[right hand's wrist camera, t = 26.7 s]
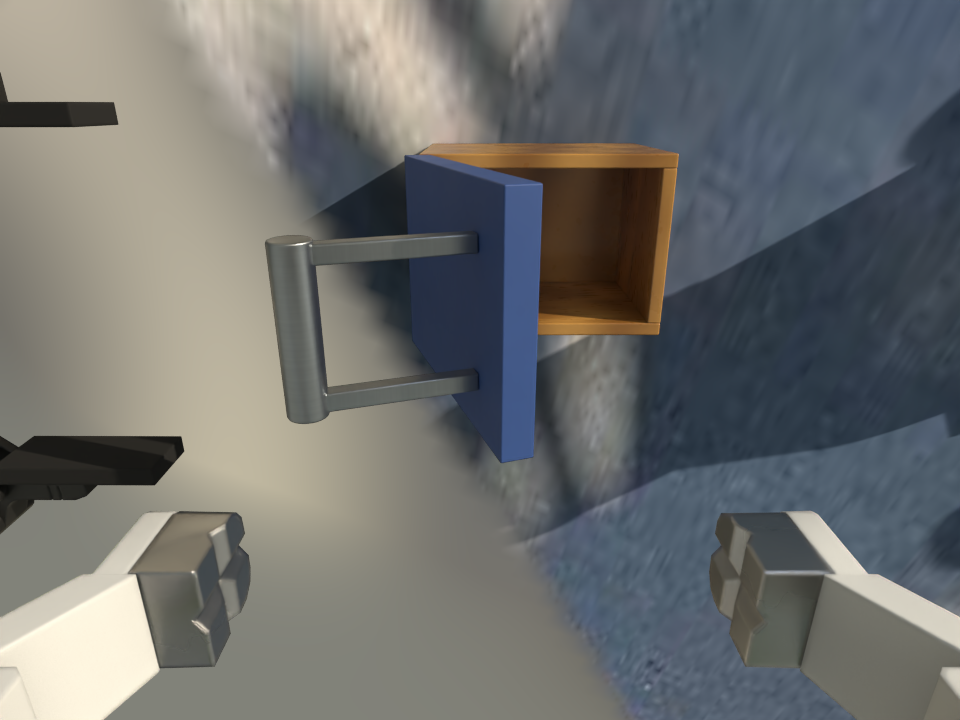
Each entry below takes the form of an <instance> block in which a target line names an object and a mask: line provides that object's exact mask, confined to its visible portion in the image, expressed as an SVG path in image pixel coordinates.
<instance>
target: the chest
mask: <svg viewBox="0 0 960 720" xmlns="http://www.w3.org/2000/svg"><path fill="white" fill-rule="evenodd" d="M419 155H432V156H436V157H440V158H444V159H448V160H452V161H456V162H460V163H464V164H468V165H472V166H476V167H480V168H484V169H488V170H492V171H496V172H500V173H504V174H508V175H512V176H516V177H520V178H524V179H528V180H532V181H536V182H540V183H542V184H543V192H542V221H541V250H540V279H539V307H538V335H658V334H659V328H660V320H661V311H662V302H663V293H664V284H665V274H666V265H667V256H668V247H669V238H670V229H671V220H672V211H673V202H674V193H675V184H676V175H677V169H676V168H677V165H678V156H679V155H678V154H677V153H673V152H668V151H664V150H660V149H655V148H651V147H646V146H642V145H638V144H432V145H431V146H429V147H428V148H427V149H425V150H424V151H423V152H421V153H420V154H419Z"/></svg>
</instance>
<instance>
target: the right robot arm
mask: <svg viewBox="0 0 960 720" xmlns="http://www.w3.org/2000/svg"><path fill="white" fill-rule="evenodd" d="M244 534H245V532H244V527H243V522H242V517H241V516H240V515H239V514H237V513H234V512H189V511H179V512H176V511H150V512H147V513H144V514H142V515H141V516H140V518H139V519H138V520H137V521H136V522H135V524H134V525H133V526H132V527H131V528H130V529H129V531H128V532H127V533H126V534H125V535H124V537H123V538H122V539H121V540H120V541H119V543H118V544H117V545H116V546H115V547H114V548H113V550H112V551H111V552H110V553H109V554H108V556H107V557H106V558H105V559H104V560H103V562H102V563H101V564H100V565H99V566H98V568H97V569H96V570H95V571H94V572H93V573H92V574H82V575H80V576H78V577H76V578H74V579H72V580H71V581H68V582H67V583H65V584H63V585H61V586H59V587H57V588H55V589H53V590H51V591H49V592H47V593H45V594H44V595H42V596H40V597H38V598H36V599H34V600H32V601H30V602H28V603H26V604H24V605H23V606H20V607H19V608H17V609H15V610H13V611H11V612H9V613H7V614H5V615H3V616H1V617H0V720H104V719H105V718H106V717H107V716H108V715H109V714H111V713H112V712H113V711H114V710H115V709H116V708H118V707H119V706H120V705H121V704H122V703H123V702H125V701H126V700H127V699H128V698H129V697H130V696H131V695H133V694H134V693H135V692H136V691H137V690H138V689H140V688H141V687H142V686H143V685H144V684H145V683H147V682H148V681H149V680H150V679H151V678H152V677H154V676H155V675H156V674H157V673H158V672H159V671H160V669H159V668H184V667H214V666H215V665H216V663H217V661H218V659H219V656H220V654H221V652H222V650H223V648H224V646H225V644H226V642H227V640H228V638H229V636H230V627H229V622H228V621H229V620H231V619H232V618H233V617H235V616H236V615H238V614H239V613H240V612H241V610H242V608H243V606H244V604H245V601H246V599H247V595H248V590H249V585H250V562H249V555H248V554H247V553H246V552H245V551H244V550H243V549H242V548H241V547H240V546H239V543H240V542H241V540H242V538H243V536H244ZM715 534H716V536H717V538H718V540H719V542H720V543H721V546H720V547H719V548H718V549H717V550H716V551H715V552H714V553H713V554H712V555H711V563H710V571H709V574H710V586H711V591H712V595H713V598H714V601H715V604H716V606H717V608H718V610H719V612H720V613H721V614H722V615H724V616H725V617H727V618H728V619H729V620H731V621H732V622H731V627H730V633H729V634H730V636H731V638H732V640H733V642H734V644H735V646H736V648H737V650H738V652H739V654H740V656H741V658H742V660H743V663H744V665H745V667H775V668H801V669H800V671H801V672H802V673H803V674H804V675H806V676H807V677H808V678H809V679H810V680H811V681H813V682H814V683H815V684H816V685H817V686H818V687H819V688H821V689H822V690H823V691H824V692H825V693H826V694H828V695H829V696H830V697H831V698H832V699H833V700H835V701H836V702H837V703H838V704H839V705H840V706H842V707H843V708H844V709H845V710H846V711H847V712H849V713H850V714H851V715H852V716H853V717H854V718H855V719H857V720H960V617H958V616H957V615H955V614H953V613H951V612H949V611H947V610H945V609H943V608H941V607H939V606H937V605H936V604H934V603H932V602H930V601H928V600H926V599H924V598H922V597H920V596H918V595H916V594H914V593H913V592H911V591H909V590H907V589H905V588H903V587H901V586H899V585H897V584H895V583H893V582H891V581H890V580H888V579H886V578H884V577H882V576H880V575H878V574H868V573H867V572H866V571H865V570H864V569H863V568H862V566H861V565H860V564H859V563H858V562H857V560H856V559H855V558H854V557H853V556H852V554H851V553H850V552H849V551H848V550H847V549H846V547H845V546H844V545H843V544H842V543H841V541H840V540H839V539H838V538H837V537H836V535H835V534H834V533H833V532H832V531H831V530H830V528H829V527H828V526H827V525H826V524H825V522H824V521H823V520H822V519H821V518H820V516H819V515H818V514H816V513H814V512H812V511H789V512H780V513H721V515H720V517H719V519H718V521H717V526H716V531H715Z"/></svg>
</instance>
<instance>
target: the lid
mask: <svg viewBox="0 0 960 720" xmlns="http://www.w3.org/2000/svg"><path fill="white" fill-rule="evenodd" d="M405 179H406V203H407V226H408V235H396V236H380V237H364V238H348V239H333V240H317V241H313V240H312V238H311V237H307V236H301V235H287V236H278V237H273V238H270V239H268V240H266V242H265V247H266V255H267V263H268V271H269V279H270V287H271V294H272V302H273V310H274V318H275V326H276V334H277V341H278V349H279V357H280V365H281V373H282V380H283V388H284V396H285V404H286V412H287V417H288V419H289V420H290V421H291V422H294V423H298V424H309V423H315V422H318V421H321V420H323V419H325V418H326V417H327V416H328V415H329V413H330V412H332V411H339V410H346V409H353V408H360V407H366V406H373V405H380V404H387V403H394V402H401V401H408V400H415V399H422V398H429V397H436V396H443V395H449V394H451V395H452V396H453V398H454V399H455V400H456V402H457V403H458V405H459V406H460V407H461V409H462V410H463V411H464V413H465V414H466V416H467V417H468V418H469V420H470V421H471V423H472V424H473V425H474V427H475V428H476V429H477V431H478V432H479V434H480V435H481V436H482V438H483V439H484V441H485V442H486V443H487V445H488V446H489V447H490V449H491V450H492V452H493V453H494V454H495V456H496V457H497V459H498V460H499V461H500V463H505V462H510V461H516V460H521V459H527V458H532V457H533V451H534V423H535V394H536V365H537V336H538V307H539V279H540V250H541V221H542V192H543V184H542V183H540V182H536V181H532V180H528V179H524V178H520V177H516V176H512V175H508V174H504V173H500V172H496V171H492V170H488V169H484V168H480V167H476V166H472V165H468V164H464V163H460V162H456V161H452V160H448V159H444V158H440V157H436V156H432V155H405ZM398 259H409V272H410V295H411V318H412V341H413V342H414V344H415V345H416V346H417V348H418V349H419V351H420V352H421V353H422V355H423V356H424V357H425V359H426V360H427V362H428V363H429V364H430V366H431V367H432V369H433V370H434V371H435V373H431V374H424V375H416V376H409V377H401V378H394V379H386V380H379V381H371V382H364V383H356V384H349V385H341V386H333V387H327V377H326V367H325V357H324V347H323V337H322V327H321V317H320V307H319V297H318V286H317V276H316V266H318V265H331V264H344V263H358V262H371V261H384V260H398Z"/></svg>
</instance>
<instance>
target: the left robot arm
mask: <svg viewBox="0 0 960 720" xmlns="http://www.w3.org/2000/svg"><path fill="white" fill-rule="evenodd" d="M102 125H118V120H117V115H116V111H115V106H114V102H8V100H7V96H6V92H5V88H4V85H3V81H2V77H1V73H0V127H83V126H102ZM183 452H184V448H183V443H182V438H181V437H180V436H34V437H32V438H31V439H29V440H28V441H27V442H25V443H24V444H23V445H21V446H20V447H17V446H16V445H14V444H12V443H11V442H9V441H7V440H6V439H4V438H2V437H1V436H0V534H1V533H2V532H3V531H4V530H5V529H6V528H8V527H9V526H10V525H11V524H12V523H13V522H14V521H16V520H17V519H18V518H19V517H20V516H21V515H22V514H24V513H25V512H26V511H27V510H28V509H29V508H30V507H31V506H32V505H33V504H34V500H52V499H53V500H62V499H63V500H77V499H80V498H82V497H85V496H87V495H88V494H89V493H90V492H91V491H92V490H93V489H94V488H95V487H96V486H97V485H155V484H156V483H157V482H158V481H159V480H160V479H161V477H162V476H163V475H164V474H165V473H166V472H167V471H168V469H169V468H170V467H171V466H172V465H173V464H174V463H175V461H176V460H177V459H178V458H179V457H180V456H181V455H182V453H183Z"/></svg>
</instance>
